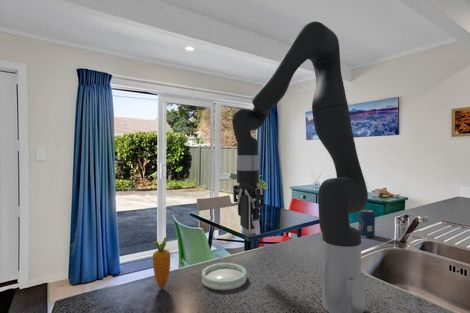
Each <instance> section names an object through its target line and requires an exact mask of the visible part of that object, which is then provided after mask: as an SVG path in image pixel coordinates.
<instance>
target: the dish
mask: <svg viewBox="0 0 470 313" xmlns="http://www.w3.org/2000/svg"><path fill="white" fill-rule="evenodd" d="M247 277H248V272H247V270H246V268H245V267H244V266H242V265H241V264H240V265H239V264H238V263H231V262H218V263H217V262H216V263H213V264H210V265H207V266H206V267H205V268H203V269H202V270H201V283H202V284H203V285H204V287H207V288H209V289H211V290H217V291H228V290H235V289H237V288H238V289H239V288H240V287H242V286H244V284H246V282H247Z"/></svg>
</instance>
